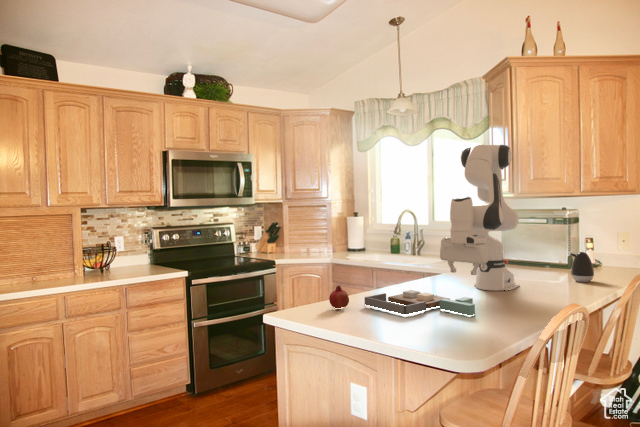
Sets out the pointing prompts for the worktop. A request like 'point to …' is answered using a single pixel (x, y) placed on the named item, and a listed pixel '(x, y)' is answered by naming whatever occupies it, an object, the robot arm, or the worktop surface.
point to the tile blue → (410, 293)
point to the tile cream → (425, 296)
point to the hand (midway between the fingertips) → (463, 273)
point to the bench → (415, 300)
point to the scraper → (459, 305)
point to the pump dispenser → (582, 268)
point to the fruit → (339, 298)
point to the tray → (393, 304)
